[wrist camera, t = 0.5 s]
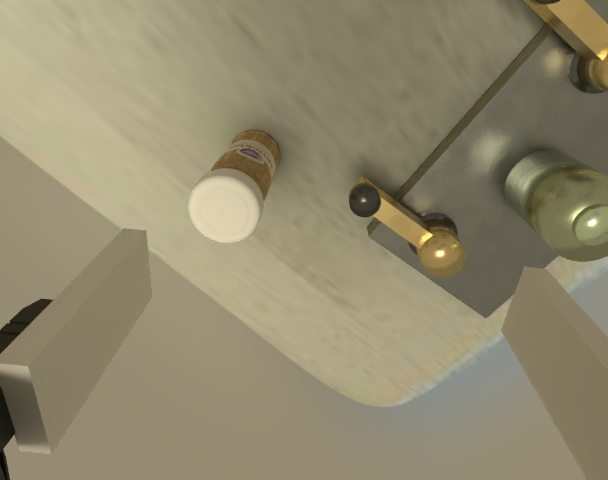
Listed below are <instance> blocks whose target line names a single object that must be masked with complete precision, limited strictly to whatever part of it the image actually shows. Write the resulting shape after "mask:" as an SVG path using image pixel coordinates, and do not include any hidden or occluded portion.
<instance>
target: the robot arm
mask: <svg viewBox="0 0 608 480" xmlns="http://www.w3.org/2000/svg"><path fill="white" fill-rule="evenodd" d="M151 298H152V290H151V279H150V268H149V257H148V246H147V234H146V231H145V230H134V229H123V230H122V231H121V233H119V234H118V235H117V236H116V237H115V238H114V239H113V240H112V241H111V242H110V243H109V245H107V247H105V248H104V250H103V251H102V252H101V253H100V254H99V255H98V256H97V257H96V258H95V259H94V260H93V261H92V262H91V263H90V264H89V265H88V266H87V267H86V268H85V269H84V270H83V271H82V272H81V273H80V274H79V275H78V276H77V277H76V278H75V279H74V280H73V281H72V282H71V283H70V284H69V285H68V286H67V287H66V288H65V289H64V290H63V291H62V292H61V293H60V294H59V295H58V296H57V297H56V298H55V299H54V300H49V299H40V300H38V301H36V302H35V303H32V304H31V305H29V306H27V307H25V308H23V309H22V310H21V311H20V312H19V313H18V314H17V315H16V316H14V317H13V318H12V319H11V320H10V323H7V324H6V325H5V326H4V327H3V328H2V329H1V330H0V480H10V477H9V472H8V466H7V462H6V456H5V453H4V451H3V449H4V447H5V446H6V445H7V443H8V442H9V441H10V439H11V438H12V437H13V435H15V438H16V441H17V444H18V447H19V451H25V452H34V453H45V454H52V453H53V451H54V449H55V448H56V447H57V445H58V443H59V442H60V440H61V439H62V437H63V436H64V434H65V432H66V431H67V429H68V428H69V426H70V425H71V423H72V421H73V420H74V418H75V417H76V415H77V414H78V412H79V410H80V409H81V407H82V406H83V404H84V403H85V401H86V400H87V398H88V396H89V395H90V393H91V392H92V390H93V389H94V387H95V385H96V384H97V382H98V381H99V379H100V378H101V376H102V374H103V373H104V371H105V369H106V368H107V366H108V365H109V364H110V362H111V360H112V359H113V357H114V356H115V354H116V353H117V351H118V349H119V348H120V346H121V345H122V343H123V342H124V340H125V338H126V337H127V335H128V334H129V332H130V331H131V329H132V327H133V326H134V324H135V323H136V321H137V320H138V318H139V316H140V315H141V313H142V312H143V310H144V308H145V307H146V305H147V304H148V302H149V301H150V299H151ZM501 331H502V333H503V334H504V336H505V338H506V340H507V341H508V343H509V345H510V347H511V348H512V350H513V352H514V354H515V355H516V357H517V359H518V361H519V362H520V364H521V366H522V368H523V370H524V371H525V373H526V375H527V376H528V378H529V380H530V382H531V384H532V385H533V387H534V389H535V390H536V392H537V394H538V396H539V398H540V399H541V401H542V403H543V405H544V406H545V408H546V410H547V411H548V413H549V415H550V417H551V419H552V420H553V422H554V424H555V426H556V427H557V429H558V431H559V433H560V434H561V436H562V438H563V439H564V441H565V443H566V445H567V447H568V448H569V450H570V452H571V454H572V455H573V457H574V459H575V461H576V462H577V464H578V466H579V468H580V469H581V471H582V473H583V475H584V476H585V478H586V480H608V337H607V336H606V335H605V334H604V333H603V332H602V330H601V329H600V328H599V327H598V326H597V325H596V324H595V323H594V322H593V320H592V319H591V318H590V317H589V316H588V315H587V314H586V313H585V312H584V310H583V309H582V308H581V307H580V306H579V305H578V304H577V303H576V301H575V300H574V299H573V298H572V297H571V296H570V295H569V294H568V293H567V291H566V290H565V289H564V288H563V287H562V286H561V285H560V284H559V282H558V281H557V280H556V279H555V278H554V277H553V276H552V275H551V274H550V272H549V271H548V270H547V269H543V268H532V267H524V268H523V271H522V274H521V277H520V280H519V282H518V285H517V288H516V291H515V293H514V296H513V299H512V302H511V304H510V307H509V310H508V313H507V315H506V318H505V321H504V324H503V326H502V329H501Z"/></svg>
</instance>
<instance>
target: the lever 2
mask: <svg viewBox="0 0 608 480" xmlns="http://www.w3.org/2000/svg"><path fill="white" fill-rule="evenodd" d="M523 1H524V2H525V3H526V4H527V5H528V6H529V7H531V8H532V9H533V10H534V11H535V12H536V13H537V14H538V15H539V16H540V17H541V18H542V19H543V20H544V21H545V22H546V23H547V24H548V25H549V26H550V27H551V28H552V29H553V30H554V31H555V32H557V33H558V34H559V35H560V36H561V37H562V38H563V39H564V40H565V41H566V42H567V43H568V44H569V45H570V46H571V47H572V48H573V49H574V50H575V51H576V52H577V53H578V54H579V55H580V57H579V60H578V63H577V76H578V78H579V80H580V82H581V83H582V84H584V85H585V86H587V87H590V88H594V89H598V90H603V91H607V92H608V24H607V23H606V22H605V21H604V20H603V19H602V18H601V17H600V16H599V15H598V14H597V13H596V12H595V11H594V10H593V9H592V8H591V7H590V6H589V5H588V4H587V3H586V2H585V1H584V0H523Z"/></svg>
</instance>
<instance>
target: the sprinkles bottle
mask: <svg viewBox="0 0 608 480" xmlns="http://www.w3.org/2000/svg"><path fill="white" fill-rule="evenodd" d="M279 160H280V154H279V149H278V146H277V144H276V143H275V141H274V140H273V139H272V138H270V136H268V135H267V134H266V133H263V132H262V131H255V130H251V131H246V132H243V133H241V134H240V135H238V136H237V137H236V138H235V139H234V141H233V142H232V145H230V146H229V147H228V149H227V150H226V151H225V152H224V154H223V155H222V156H221V157H220V158H219V160H218V161H217V162H216V163H215V165H214V166H213V167H212V169H211V171H210V172H209V173H207V174H206V175H205V176H203V177H202V178H201V179H200V180H199V182H198V183H197V184H196V186H195V187H194V189H193V190H192V192H191V194H190V197H189V201H188V211H189V215H190V218H191V221H192V223H193V224H194V226H195V227H196V228H197V229H198V230H199V232H200V233H202V234H203V235H204V236H206V237H207V238H209V239H211V240H214V241H217V242H222V243H233V242H238V241H241V240H243V239H245V238H246V237H248V236H249V235H250V234H252V232H253V231H254V230H255V228H256V227H257V225H258V223H259V220H260V218H261V215H262V212H263V207H264V201H265V199H266V196H267V193H268V190H269V187H270V184H271V181H272V178H273V175H274V172H275V170H276V169H277V167H278V165H279Z"/></svg>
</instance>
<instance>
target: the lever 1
mask: <svg viewBox="0 0 608 480" xmlns="http://www.w3.org/2000/svg"><path fill="white" fill-rule="evenodd" d="M349 204H350V208H351V210H352V212H353V213H354V214H356V215H357V216H360V217H369V216H372V215H373V216H374V217H375V218H377V219H378V220H380V221H381V222H382V223H384V224H385V225H386V226H388V227H389V228H391V229H392V230H393V231H395V232H396V233H398V234H399V235H400V236H402V237H403V238H405V239H406V240H407V241H409V242H410V243H412V244H413V245H414V246H415V249H416V251H417V254H418V256H419V258H420V261H421V263H422V266H423V268H424V269H425V271H426V272H427V273H429V274H430V275H432V276H435V277H448V276H451V275H453V274H455V273H457V272H458V271H459V270H460V269H461V268H462V267H463V266H464V264H465V261H466V250H465V248H464V246H463V245H462V243H461V242H460V240H459V239H458V237H457V235H456V234H455V232H454V231H453V229H452V227H451V226H450V225H449V224H448V223H447V222H446V221H444V220H441V219H429V220H426V221H423V220H421V219H420V218H419V217H417V216H416V215H415V214H413V213H412V212H411V211H409V210H408V209H406V208H405V207H404V206H402V205H401V204H400V203H398V202H397V201H396V200H394V199H393V198H392V197H390V196H389V195H387V194H386V193H385V192H383V191H382V190H381V189H379V188H378V187H377V186H375V185H374V184H373V183H371V182H370V181H369V180H367V179H366V178H364V177H363V176H362V177H361V178H360V179H359V180H358V181H357V183H356V184H355V185H354V186H353V187H352V189H351V190H350V193H349Z"/></svg>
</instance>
